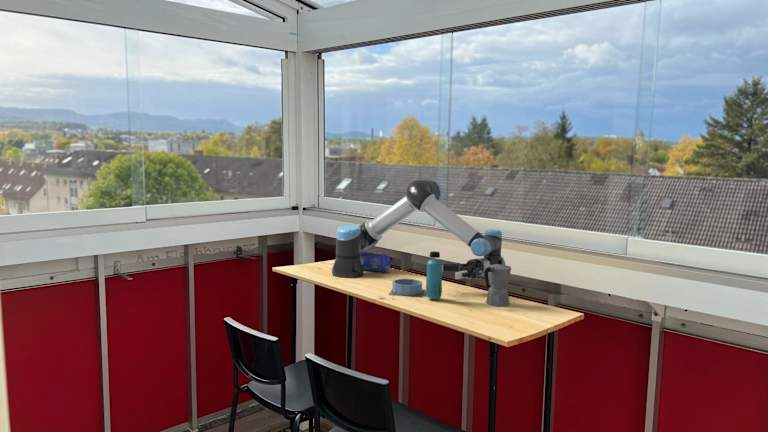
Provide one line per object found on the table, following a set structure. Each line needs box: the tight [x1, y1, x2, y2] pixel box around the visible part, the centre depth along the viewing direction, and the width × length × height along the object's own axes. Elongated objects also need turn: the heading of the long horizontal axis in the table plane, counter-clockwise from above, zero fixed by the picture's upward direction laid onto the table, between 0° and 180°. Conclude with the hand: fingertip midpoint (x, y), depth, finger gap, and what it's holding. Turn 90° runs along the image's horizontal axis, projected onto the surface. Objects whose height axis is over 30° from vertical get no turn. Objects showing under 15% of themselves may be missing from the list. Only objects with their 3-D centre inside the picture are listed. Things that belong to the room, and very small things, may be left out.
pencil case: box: [360, 252, 394, 274], centre depth 287 cm, size 22×9×10 cm, turn 67°
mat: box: [388, 288, 426, 298], centre depth 244 cm, size 14×14×1 cm
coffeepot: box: [483, 260, 512, 308], centre depth 229 cm, size 15×9×18 cm, turn 129°
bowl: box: [391, 278, 423, 297], centre depth 244 cm, size 12×12×4 cm
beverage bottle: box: [425, 251, 443, 300], centre depth 232 cm, size 6×7×20 cm
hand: (443, 272), depth 235 cm, fingers open, 13 cm apart
